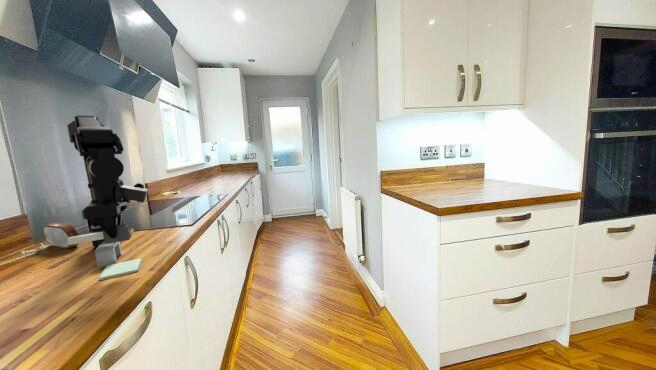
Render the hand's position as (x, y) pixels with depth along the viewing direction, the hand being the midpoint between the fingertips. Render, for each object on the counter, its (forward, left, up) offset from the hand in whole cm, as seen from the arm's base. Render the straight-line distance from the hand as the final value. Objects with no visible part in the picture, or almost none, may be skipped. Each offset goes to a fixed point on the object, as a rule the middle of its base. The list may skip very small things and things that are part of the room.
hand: (115, 235), depth 68 cm
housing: (+4, -10, -10) cm, 15 cm away
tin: (+22, -35, -10) cm, 43 cm away
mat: (0, 0, -10) cm, 10 cm away
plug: (+3, 0, -1) cm, 3 cm away
